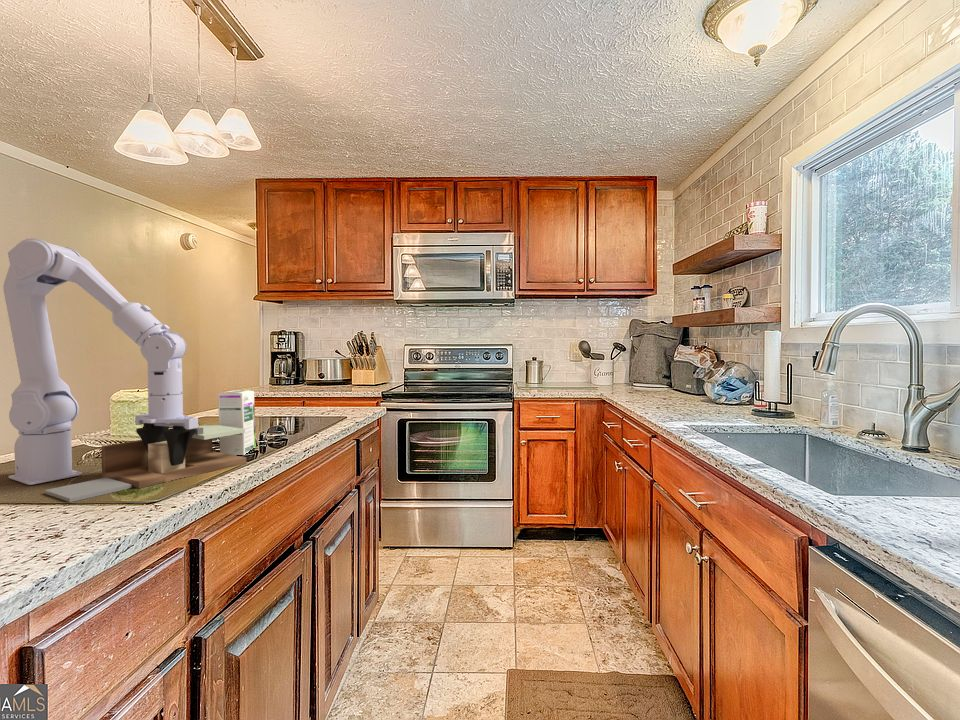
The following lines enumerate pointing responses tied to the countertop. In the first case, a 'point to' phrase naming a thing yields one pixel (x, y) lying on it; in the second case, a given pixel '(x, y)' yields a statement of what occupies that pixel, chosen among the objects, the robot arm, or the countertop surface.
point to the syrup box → (237, 421)
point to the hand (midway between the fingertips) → (166, 463)
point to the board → (132, 468)
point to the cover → (215, 431)
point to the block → (160, 458)
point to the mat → (87, 489)
